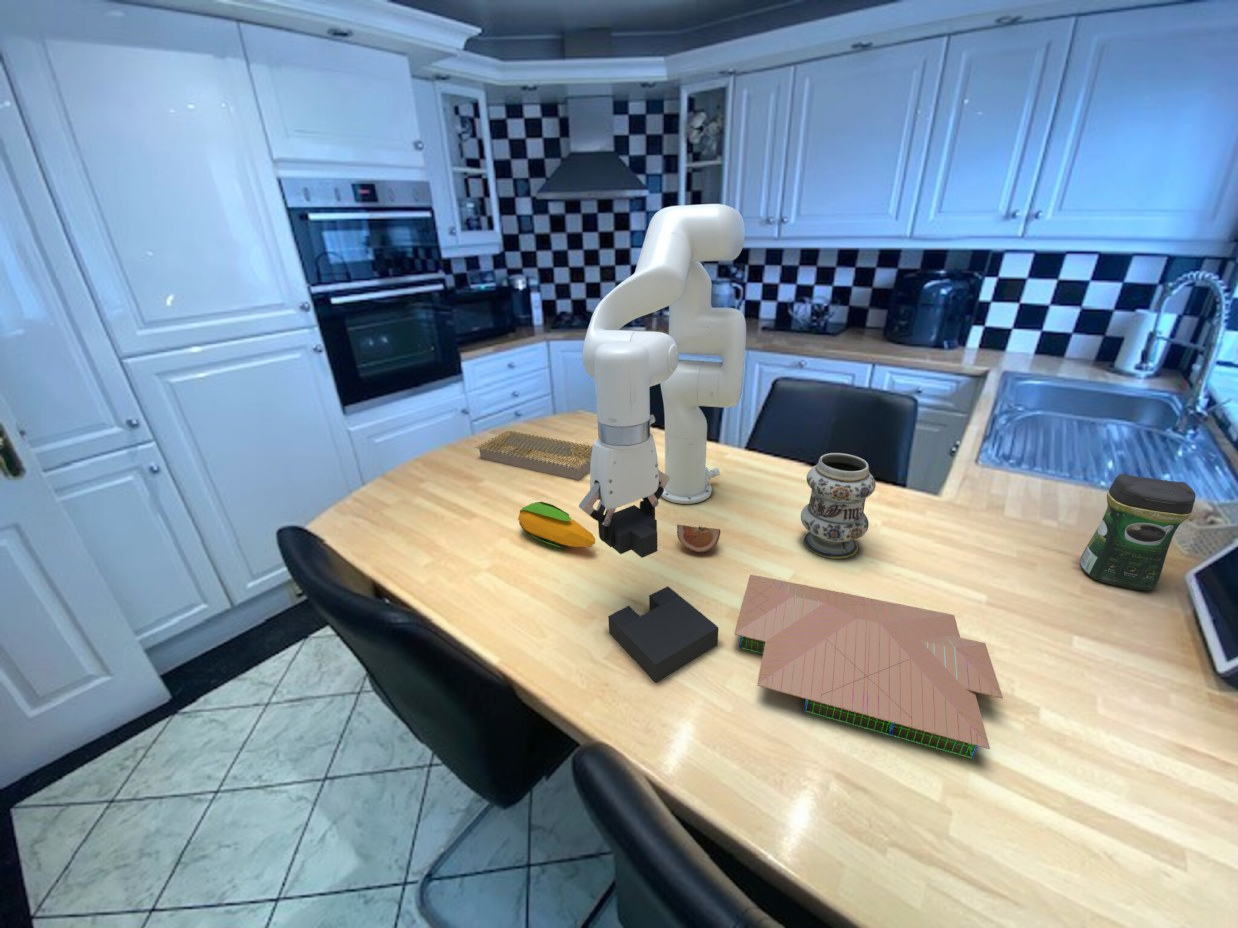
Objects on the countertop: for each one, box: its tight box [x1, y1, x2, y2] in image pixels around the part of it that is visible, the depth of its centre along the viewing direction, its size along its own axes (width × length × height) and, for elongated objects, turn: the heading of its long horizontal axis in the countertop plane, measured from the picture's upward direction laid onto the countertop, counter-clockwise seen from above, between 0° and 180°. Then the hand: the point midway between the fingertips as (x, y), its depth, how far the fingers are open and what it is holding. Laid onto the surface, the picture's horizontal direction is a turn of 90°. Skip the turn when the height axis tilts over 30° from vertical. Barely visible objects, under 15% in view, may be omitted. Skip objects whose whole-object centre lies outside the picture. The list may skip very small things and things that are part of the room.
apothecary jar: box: [800, 452, 877, 560], centre depth 96 cm, size 12×12×18 cm
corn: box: [517, 501, 596, 549], centre depth 103 cm, size 7×8×20 cm
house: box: [733, 573, 1004, 759], centre depth 71 cm, size 23×33×8 cm
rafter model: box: [474, 430, 593, 481], centre depth 140 cm, size 35×14×6 cm, turn 61°
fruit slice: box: [676, 524, 721, 553], centre depth 99 cm, size 8×7×5 cm
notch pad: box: [607, 585, 719, 683], centre depth 78 cm, size 12×12×4 cm
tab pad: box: [611, 504, 659, 559], centre depth 79 cm, size 7×9×4 cm
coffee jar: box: [1079, 473, 1196, 591], centre depth 84 cm, size 10×8×19 cm
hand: (627, 533), depth 80 cm, fingers closed on tab pad, 7 cm apart
